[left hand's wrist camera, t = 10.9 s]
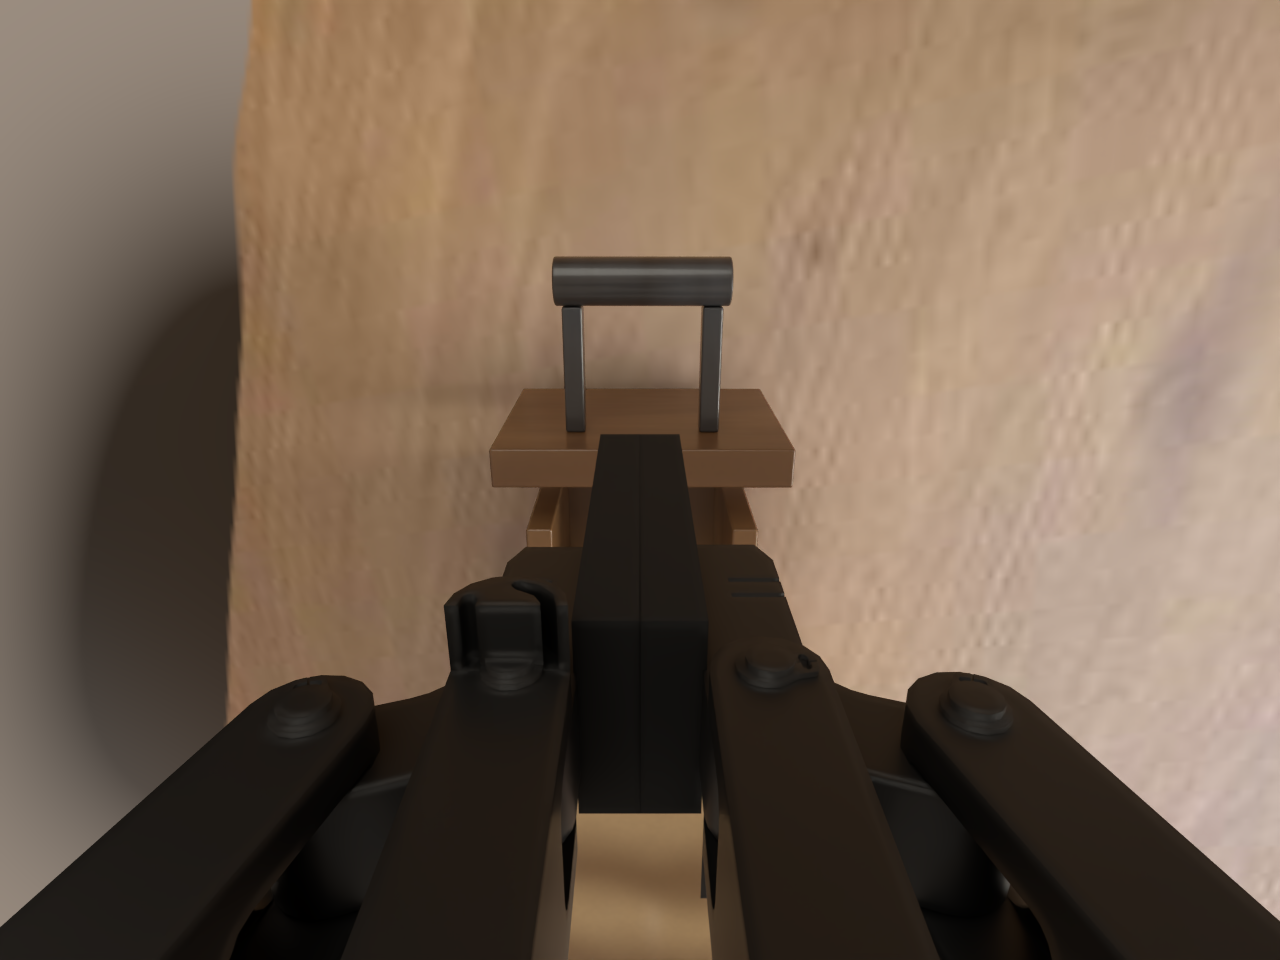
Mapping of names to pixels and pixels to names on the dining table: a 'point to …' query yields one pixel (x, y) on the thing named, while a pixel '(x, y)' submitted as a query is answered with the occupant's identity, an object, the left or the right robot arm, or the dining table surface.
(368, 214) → the dining table surface
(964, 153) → the dining table surface
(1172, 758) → the dining table surface
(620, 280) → the drawer
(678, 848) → the wooden storage box
